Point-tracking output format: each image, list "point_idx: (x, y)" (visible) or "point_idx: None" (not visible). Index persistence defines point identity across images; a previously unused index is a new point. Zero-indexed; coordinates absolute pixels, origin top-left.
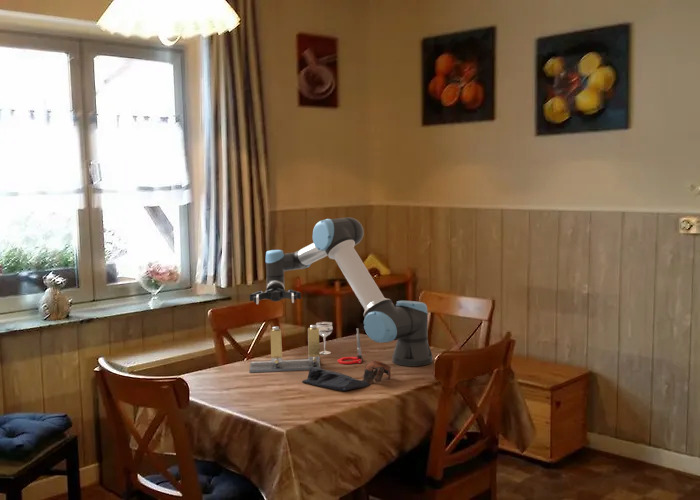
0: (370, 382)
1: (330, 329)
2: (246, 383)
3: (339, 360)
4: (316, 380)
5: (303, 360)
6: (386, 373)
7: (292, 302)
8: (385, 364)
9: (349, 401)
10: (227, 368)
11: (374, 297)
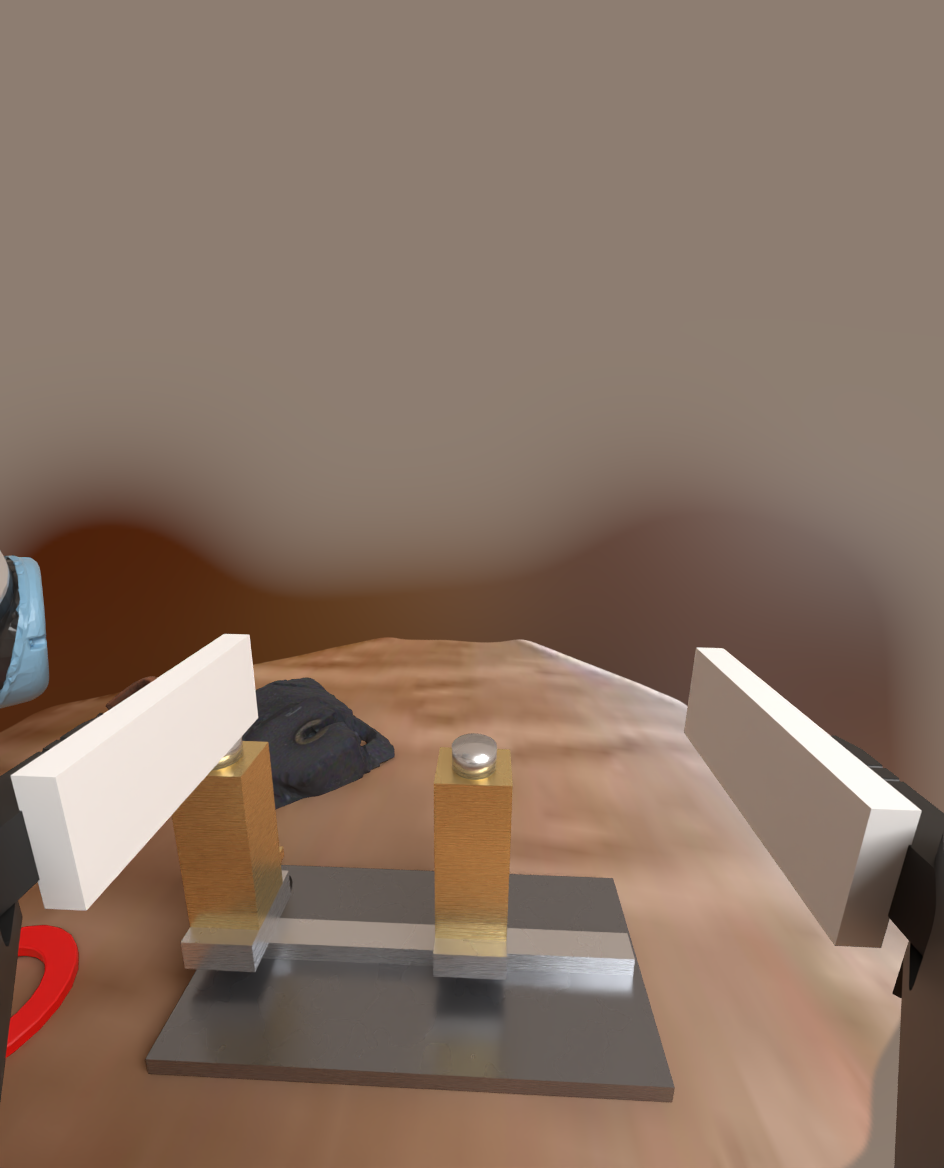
0: None
1: None
2: (584, 774)
3: (48, 993)
4: (358, 720)
5: (310, 923)
6: None
7: (251, 714)
8: (136, 682)
9: (328, 663)
10: (790, 1004)
11: None
